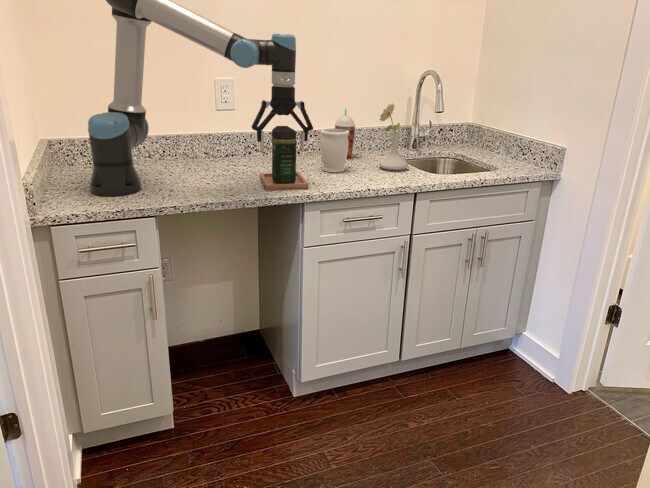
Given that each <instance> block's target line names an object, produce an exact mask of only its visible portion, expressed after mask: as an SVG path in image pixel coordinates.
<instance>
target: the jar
mask: <svg viewBox="0 0 650 488" xmlns="http://www.w3.org/2000/svg"><path fill="white" fill-rule="evenodd" d="M320 134H321V137H320V143H319V144H320V145H319V146H320V147H319V148H320V150H319V152H320V158H321V163H322V164H323V166H322V171H324V172H327V173H331V174H332V173H333V174H335V173H336V174H337V173H343V172H344V171H345V167H344V166H345V164H346V162H347V160H348V159H347V153H348V137H347V135H348V134H349V131H347V130H343V129H335V128H323V129H320Z"/></svg>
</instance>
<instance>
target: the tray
mask: <svg viewBox="0 0 650 488" xmlns="http://www.w3.org/2000/svg"><path fill="white" fill-rule="evenodd" d="M259 177H260V181H261V183H262V185H263V186H264V188H265V191H267V192H268V191H272V192H273V191H293V189H294V191H295V189H297V190H309V183H308V181H307V180H306V179H305V178H304V176H303V175H302V174H301V173H300V172H299V171H296V181H295V182H294V183H289V184H281V183H275V182H274V181H273V179H272V172H266V173H264V172H262V173H259Z"/></svg>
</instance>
